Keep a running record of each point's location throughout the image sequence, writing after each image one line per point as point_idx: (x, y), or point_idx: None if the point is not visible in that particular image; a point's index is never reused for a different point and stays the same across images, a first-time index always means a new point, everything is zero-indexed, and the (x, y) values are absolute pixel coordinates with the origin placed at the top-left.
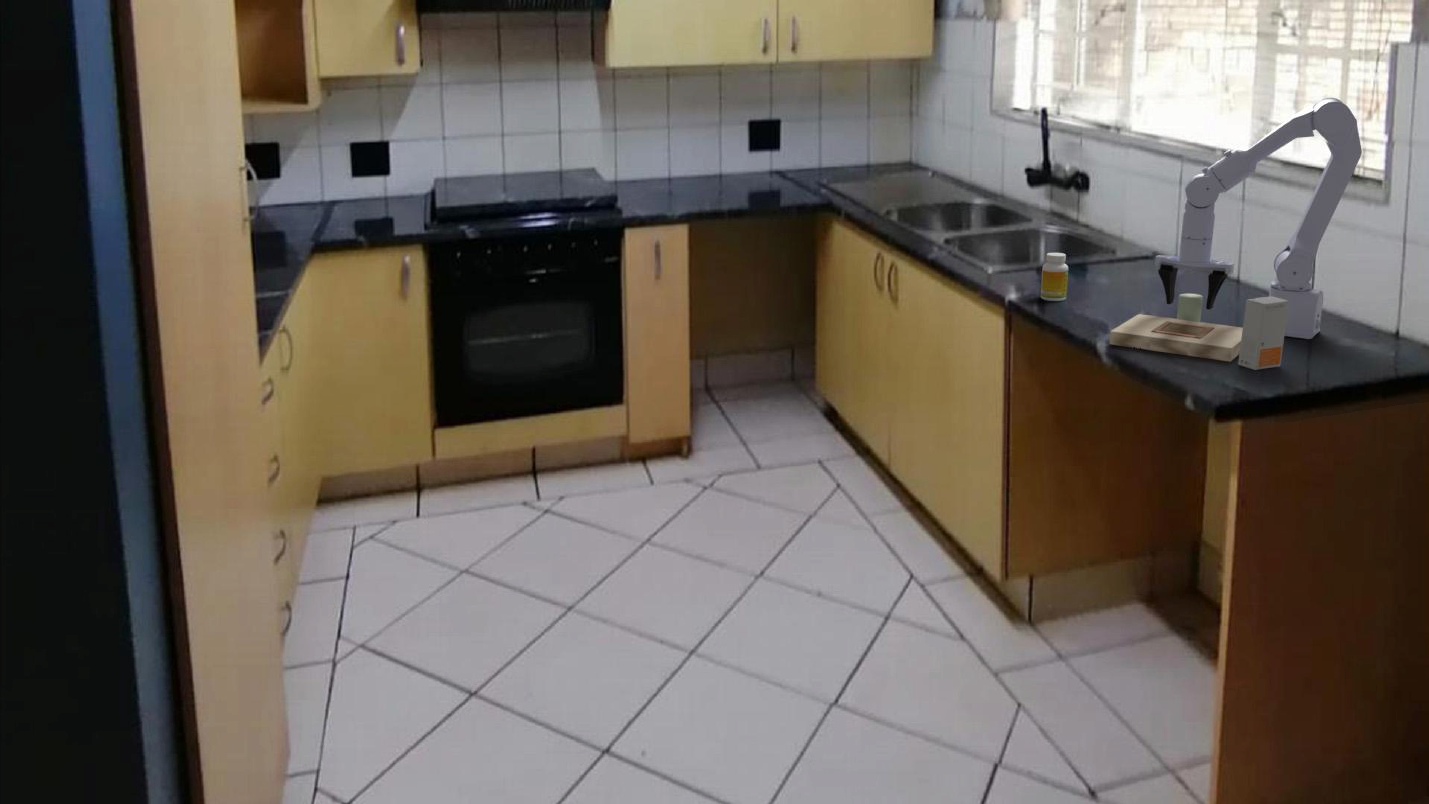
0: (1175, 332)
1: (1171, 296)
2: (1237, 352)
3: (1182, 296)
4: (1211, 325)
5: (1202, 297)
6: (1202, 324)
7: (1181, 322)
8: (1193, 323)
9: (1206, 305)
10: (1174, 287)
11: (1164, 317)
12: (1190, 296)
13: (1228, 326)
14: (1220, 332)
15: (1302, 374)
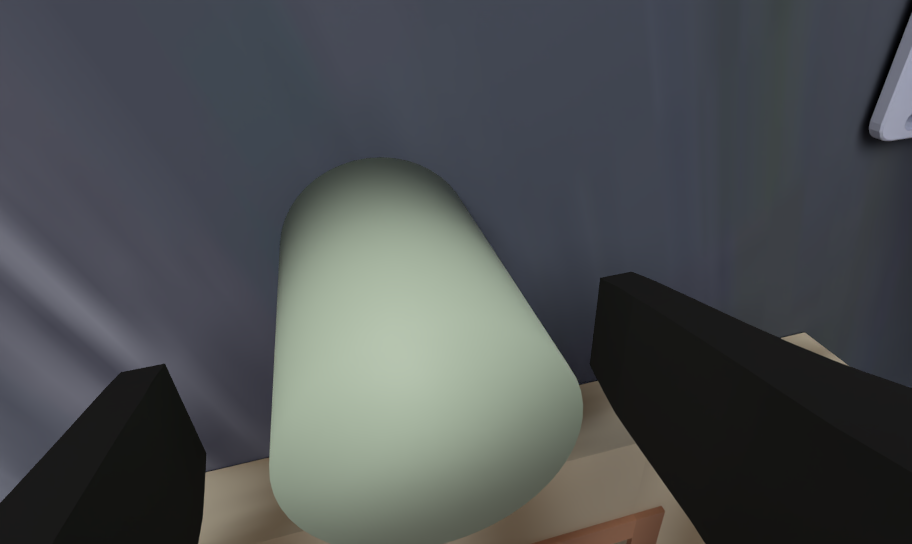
0: None
1: (176, 512)
2: None
3: (357, 526)
4: (638, 474)
5: (582, 414)
6: (587, 491)
7: (463, 539)
8: (534, 509)
9: (609, 399)
10: (66, 532)
11: (304, 532)
12: (439, 469)
13: None
14: (694, 533)
15: None
